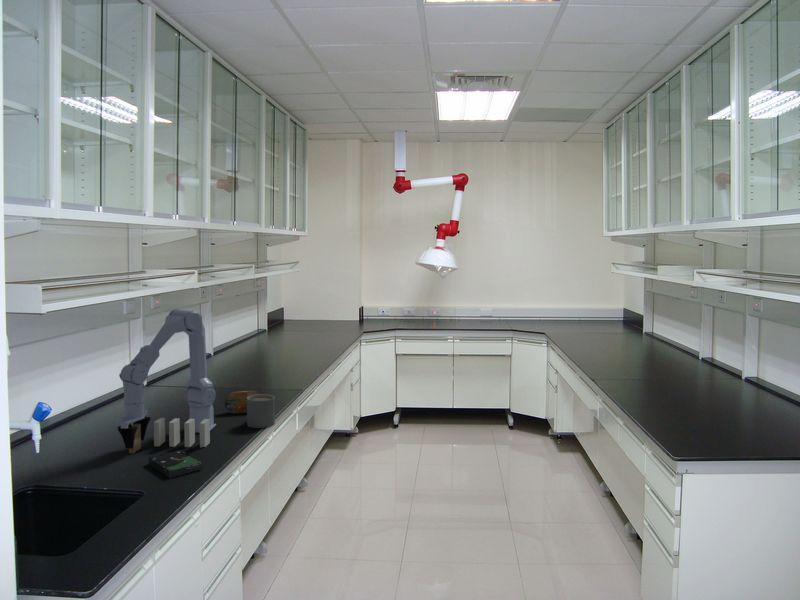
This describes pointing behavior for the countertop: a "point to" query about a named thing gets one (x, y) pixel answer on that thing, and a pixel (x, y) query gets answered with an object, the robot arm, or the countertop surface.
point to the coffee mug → (260, 411)
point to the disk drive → (175, 463)
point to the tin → (238, 401)
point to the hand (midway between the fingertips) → (134, 444)
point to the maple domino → (136, 439)
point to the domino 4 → (204, 432)
